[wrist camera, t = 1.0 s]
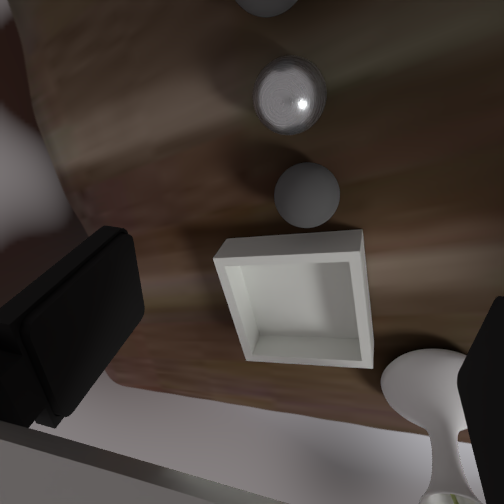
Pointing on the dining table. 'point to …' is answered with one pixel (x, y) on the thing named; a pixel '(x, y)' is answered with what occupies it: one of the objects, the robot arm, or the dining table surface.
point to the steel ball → (289, 95)
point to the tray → (300, 297)
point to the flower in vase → (433, 415)
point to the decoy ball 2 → (307, 195)
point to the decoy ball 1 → (266, 7)
